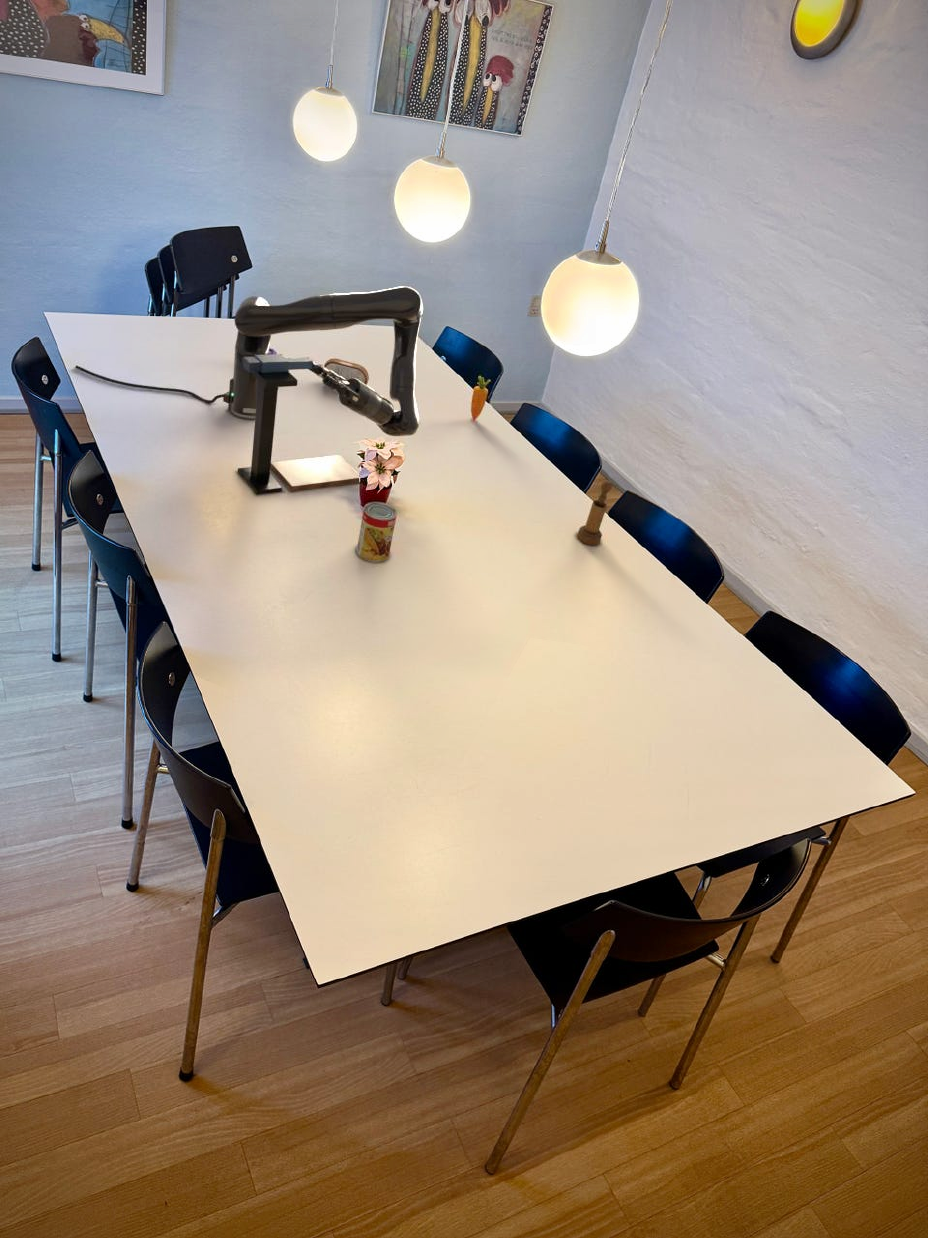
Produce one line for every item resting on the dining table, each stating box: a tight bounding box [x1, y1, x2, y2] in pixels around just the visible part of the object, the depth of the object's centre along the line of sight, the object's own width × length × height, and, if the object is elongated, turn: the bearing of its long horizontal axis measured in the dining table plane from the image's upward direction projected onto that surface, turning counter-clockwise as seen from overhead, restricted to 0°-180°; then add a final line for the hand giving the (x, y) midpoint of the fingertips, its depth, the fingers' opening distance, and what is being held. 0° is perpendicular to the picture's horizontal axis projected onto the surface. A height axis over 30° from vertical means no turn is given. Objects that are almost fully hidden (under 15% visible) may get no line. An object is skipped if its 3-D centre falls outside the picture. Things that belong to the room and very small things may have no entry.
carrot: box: [470, 375, 491, 421], centre depth 287 cm, size 5×5×15 cm
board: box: [270, 454, 360, 492], centre depth 239 cm, size 21×13×2 cm, turn 126°
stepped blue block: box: [243, 353, 319, 373], centre depth 213 cm, size 18×4×3 cm, turn 126°
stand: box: [237, 357, 299, 496], centre depth 221 cm, size 8×14×31 cm, turn 36°
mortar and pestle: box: [576, 480, 613, 546], centre depth 238 cm, size 7×6×18 cm
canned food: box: [356, 501, 398, 563], centre depth 211 cm, size 8×8×12 cm
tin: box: [323, 358, 370, 385], centre depth 288 cm, size 15×3×8 cm, turn 84°
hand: (316, 371), depth 220 cm, fingers open, 8 cm apart
